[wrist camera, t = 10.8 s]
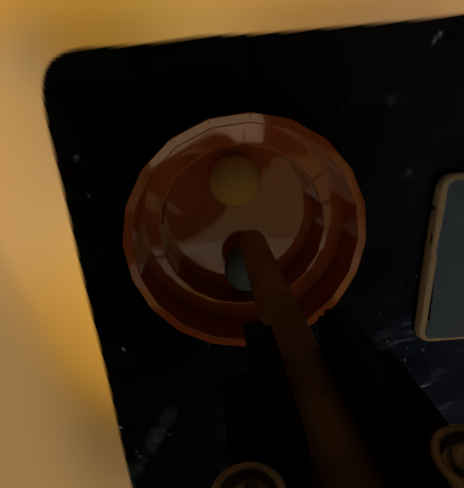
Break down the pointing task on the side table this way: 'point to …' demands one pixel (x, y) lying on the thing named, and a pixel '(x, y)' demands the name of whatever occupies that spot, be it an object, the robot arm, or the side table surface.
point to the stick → (309, 378)
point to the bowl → (242, 223)
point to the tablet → (443, 265)
